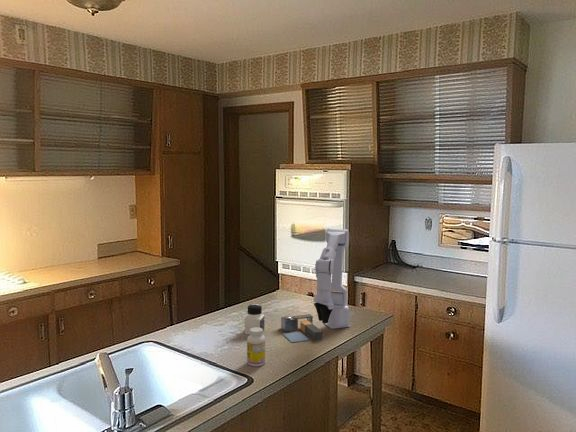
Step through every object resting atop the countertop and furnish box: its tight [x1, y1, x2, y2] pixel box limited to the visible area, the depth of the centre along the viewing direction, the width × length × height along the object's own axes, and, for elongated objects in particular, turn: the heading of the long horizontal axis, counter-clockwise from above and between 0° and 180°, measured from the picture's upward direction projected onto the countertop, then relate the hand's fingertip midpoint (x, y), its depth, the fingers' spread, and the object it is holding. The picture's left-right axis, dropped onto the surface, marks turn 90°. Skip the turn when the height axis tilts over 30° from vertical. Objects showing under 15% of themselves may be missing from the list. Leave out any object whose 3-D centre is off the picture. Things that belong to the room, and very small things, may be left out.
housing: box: [280, 313, 314, 333], centre depth 215 cm, size 14×5×6 cm, turn 111°
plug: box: [299, 319, 323, 342], centre depth 208 cm, size 4×15×4 cm, turn 21°
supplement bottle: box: [246, 327, 266, 367], centre depth 177 cm, size 7×7×13 cm
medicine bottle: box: [243, 303, 265, 336], centre depth 209 cm, size 7×7×12 cm
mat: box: [282, 331, 310, 344], centre depth 204 cm, size 8×10×1 cm
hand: (323, 321), depth 196 cm, fingers open, 3 cm apart
